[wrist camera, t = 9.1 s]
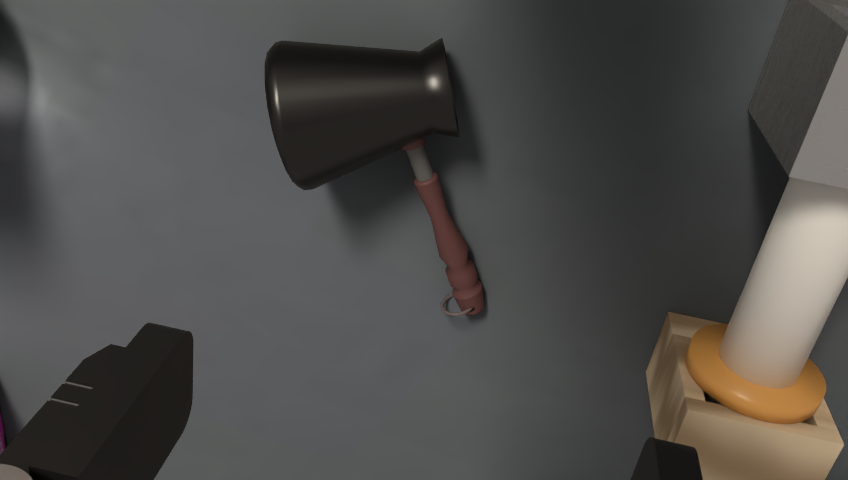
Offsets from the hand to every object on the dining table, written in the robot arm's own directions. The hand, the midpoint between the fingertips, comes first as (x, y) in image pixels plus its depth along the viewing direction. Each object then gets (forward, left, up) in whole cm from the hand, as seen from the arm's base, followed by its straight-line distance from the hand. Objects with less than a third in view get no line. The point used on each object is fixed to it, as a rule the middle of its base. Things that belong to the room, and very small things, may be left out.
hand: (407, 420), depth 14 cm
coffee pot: (+10, -4, -31) cm, 32 cm away
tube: (+7, +16, -29) cm, 33 cm away
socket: (+17, +16, -30) cm, 38 cm away
